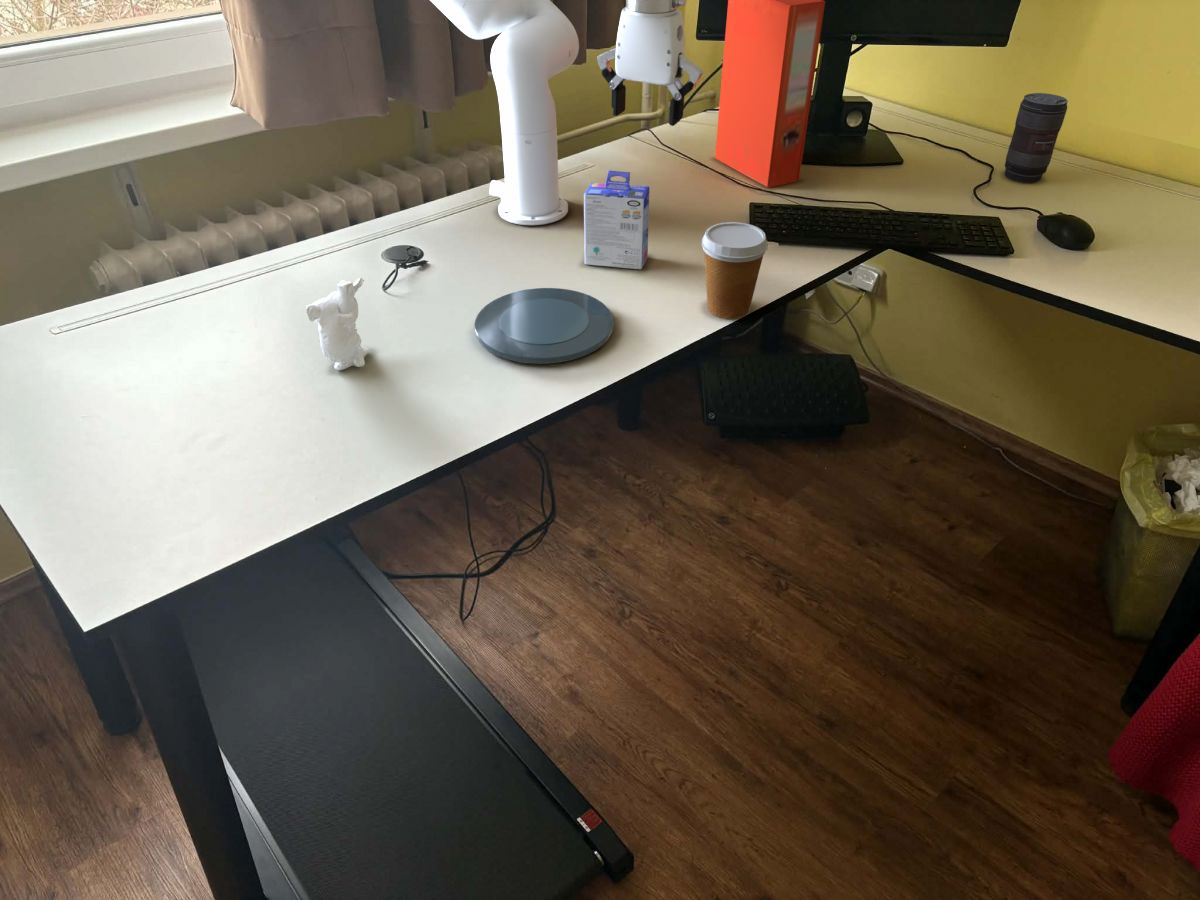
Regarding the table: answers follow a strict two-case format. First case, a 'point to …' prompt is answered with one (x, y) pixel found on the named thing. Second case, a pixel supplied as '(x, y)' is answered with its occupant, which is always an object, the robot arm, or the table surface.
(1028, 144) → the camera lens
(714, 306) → the disposable coffee cup
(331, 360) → the white upright lumpy figure
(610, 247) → the ink cartridge box
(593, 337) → the plate
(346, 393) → the table surface
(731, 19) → the file binder
